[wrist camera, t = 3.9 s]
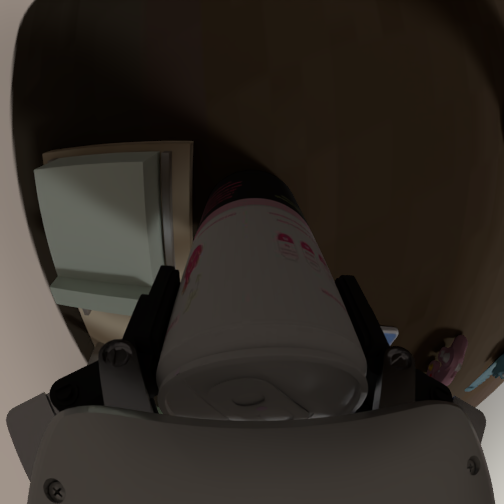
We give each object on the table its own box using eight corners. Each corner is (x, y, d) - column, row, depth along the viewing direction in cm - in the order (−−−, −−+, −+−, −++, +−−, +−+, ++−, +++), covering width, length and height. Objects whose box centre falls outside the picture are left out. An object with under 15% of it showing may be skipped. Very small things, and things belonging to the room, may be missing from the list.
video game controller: (447, 326, 31) (452, 360, 25) (468, 333, 29) (475, 366, 24) (416, 368, 36) (416, 400, 30) (436, 373, 34) (437, 405, 29)
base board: (50, 150, 16) (14, 166, 12) (193, 141, 17) (177, 153, 13) (110, 365, 30) (100, 393, 26) (200, 378, 31) (197, 410, 27)
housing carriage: (59, 158, 15) (21, 176, 11) (159, 151, 16) (133, 167, 12) (80, 270, 20) (56, 303, 16) (166, 278, 21) (152, 318, 17)
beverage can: (238, 264, 22) (236, 454, 9) (188, 200, 19) (107, 388, 6) (310, 224, 20) (388, 408, 7) (266, 151, 17) (330, 301, 5)
